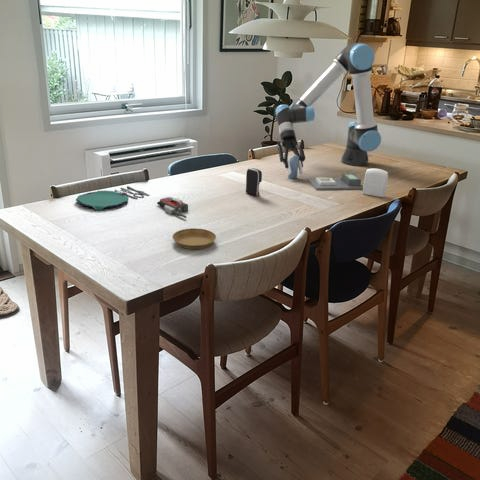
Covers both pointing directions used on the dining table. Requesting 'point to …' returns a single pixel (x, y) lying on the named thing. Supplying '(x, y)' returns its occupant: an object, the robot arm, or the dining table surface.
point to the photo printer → (375, 182)
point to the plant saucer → (194, 238)
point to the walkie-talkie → (173, 206)
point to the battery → (253, 181)
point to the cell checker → (337, 183)
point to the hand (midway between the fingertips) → (295, 173)
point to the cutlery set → (106, 198)
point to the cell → (294, 166)
